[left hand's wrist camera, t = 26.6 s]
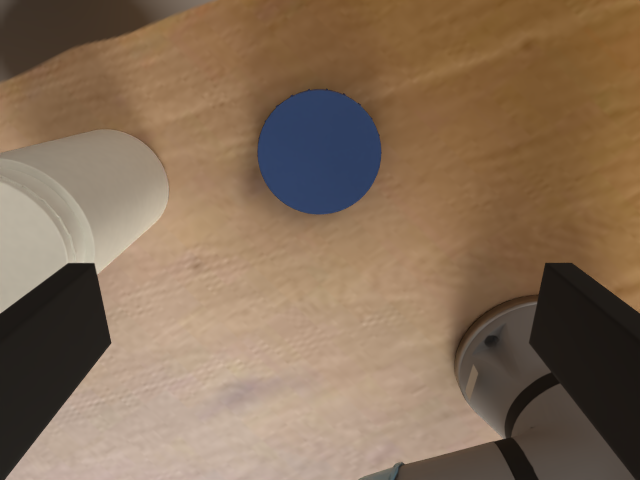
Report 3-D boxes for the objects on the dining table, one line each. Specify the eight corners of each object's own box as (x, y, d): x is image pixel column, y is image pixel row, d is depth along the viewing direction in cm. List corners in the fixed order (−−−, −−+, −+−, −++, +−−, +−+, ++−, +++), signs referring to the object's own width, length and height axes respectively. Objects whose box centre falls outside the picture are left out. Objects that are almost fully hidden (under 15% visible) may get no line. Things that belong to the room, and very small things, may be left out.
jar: (184, 160, 37) (98, 215, 23) (148, 250, 40) (52, 349, 26) (77, 108, 36) (-90, 131, 21) (48, 206, 39) (-115, 284, 24)
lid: (236, 135, 37) (231, 138, 34) (336, 62, 34) (337, 61, 32) (304, 228, 40) (303, 236, 37) (400, 166, 38) (405, 171, 35)
